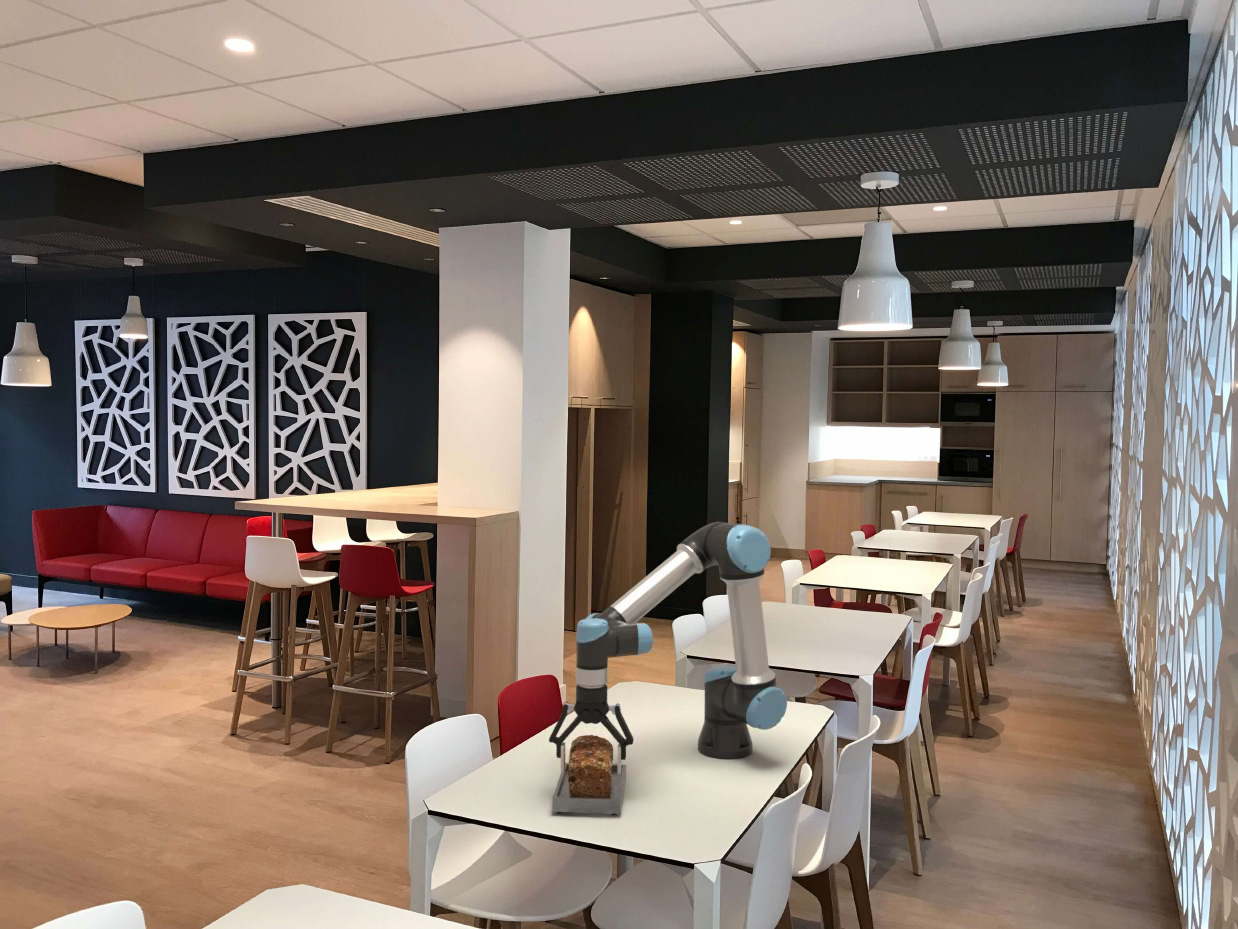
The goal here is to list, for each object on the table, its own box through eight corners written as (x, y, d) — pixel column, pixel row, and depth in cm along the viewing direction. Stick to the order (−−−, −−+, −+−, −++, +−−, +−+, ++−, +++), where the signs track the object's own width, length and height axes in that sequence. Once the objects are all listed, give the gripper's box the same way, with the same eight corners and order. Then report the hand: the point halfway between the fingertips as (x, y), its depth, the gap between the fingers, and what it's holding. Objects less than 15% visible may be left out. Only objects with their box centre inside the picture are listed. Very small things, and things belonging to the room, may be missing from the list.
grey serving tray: (625, 781, 242) (626, 764, 242) (620, 818, 219) (620, 799, 218) (564, 779, 243) (564, 762, 243) (552, 815, 219) (552, 797, 219)
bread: (571, 771, 240) (571, 732, 240) (614, 772, 240) (614, 732, 240) (566, 799, 221) (566, 757, 221) (612, 800, 221) (612, 757, 221)
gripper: (644, 681, 233) (643, 768, 234) (542, 679, 235) (541, 765, 235) (643, 689, 226) (642, 779, 226) (537, 687, 227) (537, 775, 228)
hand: (591, 772), depth 231 cm, fingers open, 13 cm apart
